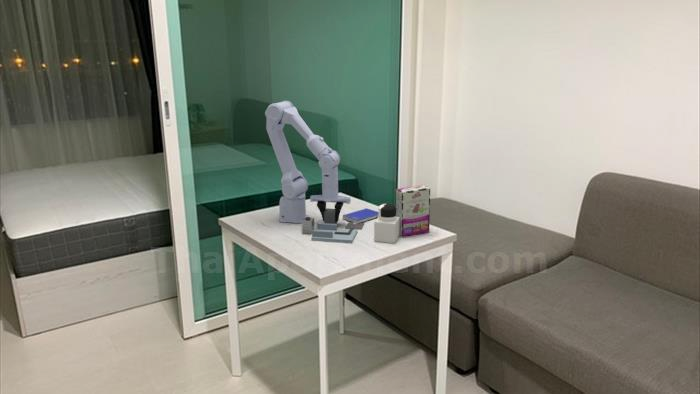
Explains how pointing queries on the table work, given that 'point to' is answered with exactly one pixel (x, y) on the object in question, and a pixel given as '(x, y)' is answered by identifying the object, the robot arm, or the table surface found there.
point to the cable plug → (307, 225)
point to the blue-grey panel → (333, 233)
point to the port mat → (354, 225)
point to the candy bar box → (413, 210)
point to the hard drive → (361, 215)
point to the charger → (329, 216)
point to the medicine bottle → (386, 224)
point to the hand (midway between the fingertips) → (330, 220)
